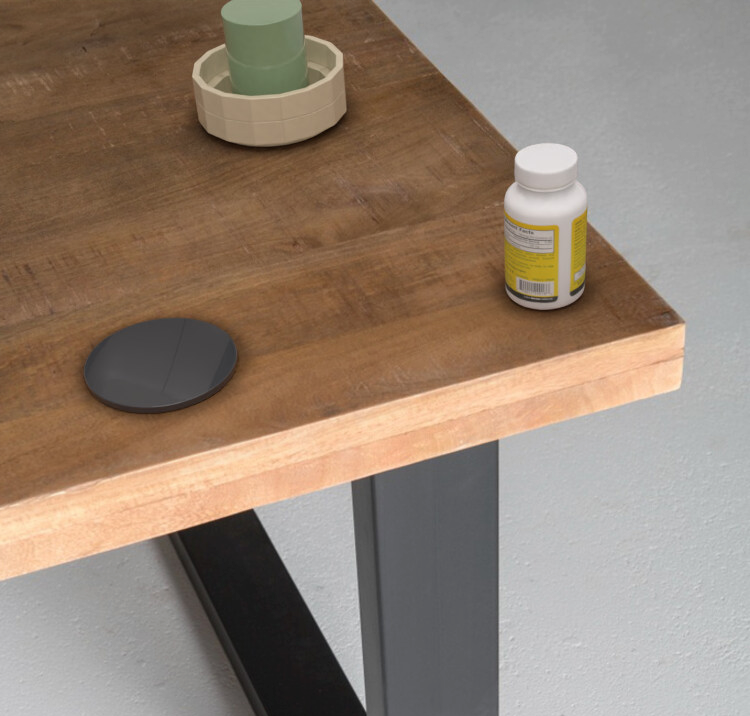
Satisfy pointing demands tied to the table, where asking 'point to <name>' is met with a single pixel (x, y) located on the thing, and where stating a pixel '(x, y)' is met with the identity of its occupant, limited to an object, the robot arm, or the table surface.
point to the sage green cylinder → (265, 46)
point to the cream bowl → (271, 100)
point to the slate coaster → (160, 365)
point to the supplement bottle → (545, 228)
